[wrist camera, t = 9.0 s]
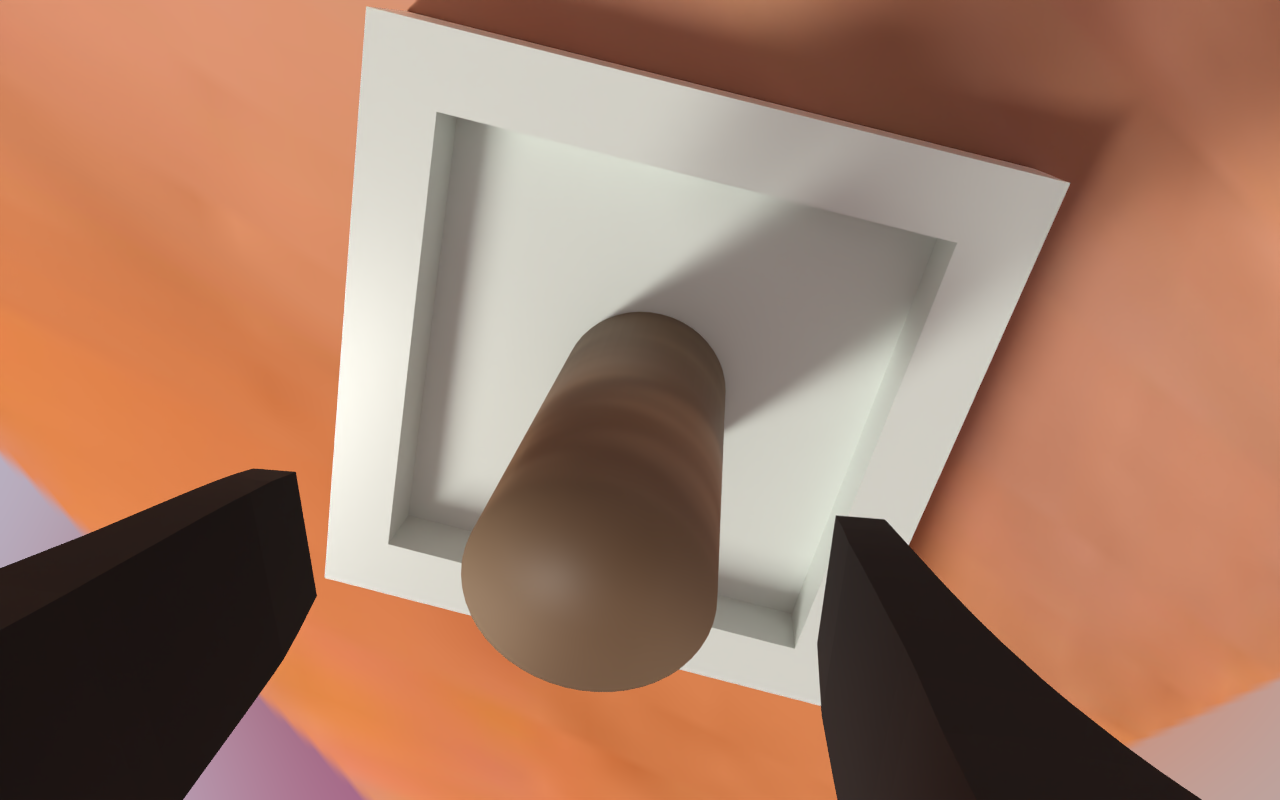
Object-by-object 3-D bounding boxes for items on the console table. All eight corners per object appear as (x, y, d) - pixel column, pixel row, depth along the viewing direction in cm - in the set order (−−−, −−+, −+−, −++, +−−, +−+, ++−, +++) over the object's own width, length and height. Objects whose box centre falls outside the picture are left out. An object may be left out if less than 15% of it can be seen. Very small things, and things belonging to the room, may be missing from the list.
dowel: (725, 310, 19) (717, 479, 11) (725, 463, 20) (718, 698, 13) (556, 312, 19) (444, 476, 12) (569, 461, 21) (477, 685, 13)
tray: (1035, 169, 17) (1070, 183, 15) (827, 657, 23) (835, 709, 21) (405, 10, 17) (366, 5, 15) (357, 536, 23) (324, 577, 21)
